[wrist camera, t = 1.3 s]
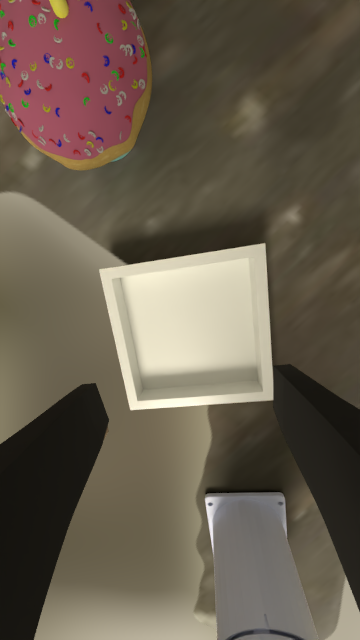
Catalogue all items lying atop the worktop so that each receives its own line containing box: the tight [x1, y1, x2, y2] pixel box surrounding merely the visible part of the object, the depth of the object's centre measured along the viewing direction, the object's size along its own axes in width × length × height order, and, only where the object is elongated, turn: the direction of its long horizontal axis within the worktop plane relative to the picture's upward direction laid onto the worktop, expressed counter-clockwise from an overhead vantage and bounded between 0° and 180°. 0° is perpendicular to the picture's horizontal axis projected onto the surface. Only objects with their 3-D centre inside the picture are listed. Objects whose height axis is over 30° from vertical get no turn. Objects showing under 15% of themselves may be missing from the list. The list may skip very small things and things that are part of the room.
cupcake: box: [0, 0, 152, 170], centre depth 10 cm, size 9×8×12 cm
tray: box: [99, 243, 273, 410], centre depth 18 cm, size 12×12×2 cm
